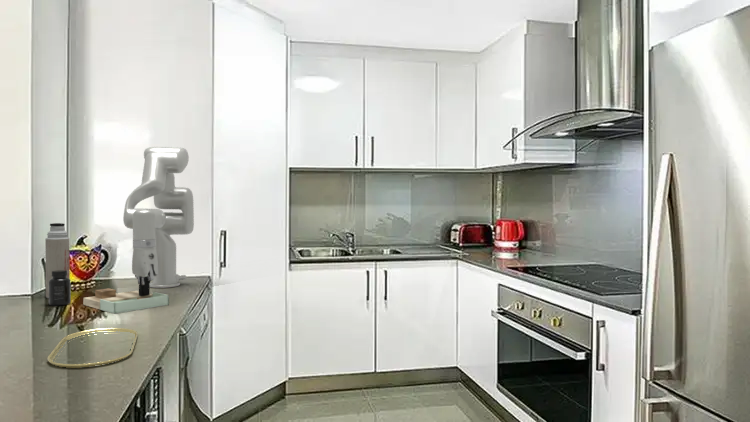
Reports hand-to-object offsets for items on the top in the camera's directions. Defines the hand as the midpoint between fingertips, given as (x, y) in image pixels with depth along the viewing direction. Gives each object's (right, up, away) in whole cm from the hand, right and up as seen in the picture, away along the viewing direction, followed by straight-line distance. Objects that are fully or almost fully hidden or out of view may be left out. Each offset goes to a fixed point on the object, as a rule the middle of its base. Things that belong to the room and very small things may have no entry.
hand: (144, 295), depth 201 cm
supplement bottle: (-30, -3, -1) cm, 30 cm away
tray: (-2, -4, -4) cm, 5 cm away
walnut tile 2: (-14, -1, +1) cm, 14 cm away
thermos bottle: (-39, -3, +14) cm, 41 cm away
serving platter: (+10, -6, -55) cm, 56 cm away
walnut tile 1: (+2, -1, -2) cm, 3 cm away
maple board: (-10, -3, +3) cm, 11 cm away
